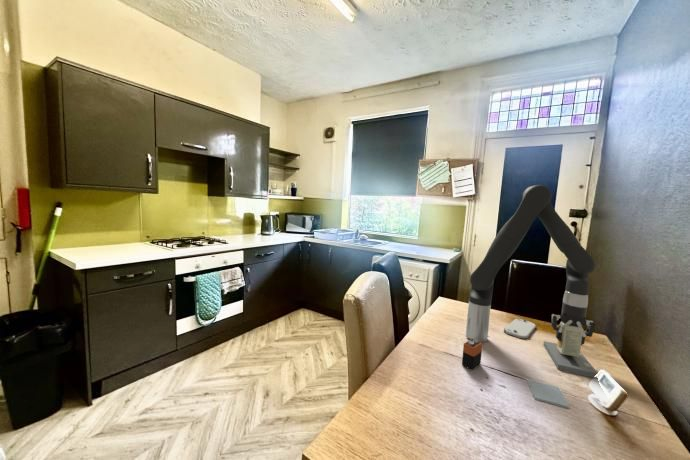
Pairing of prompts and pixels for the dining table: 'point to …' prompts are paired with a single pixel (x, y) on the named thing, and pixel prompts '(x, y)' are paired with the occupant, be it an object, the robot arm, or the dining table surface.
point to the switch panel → (569, 361)
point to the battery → (472, 354)
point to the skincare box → (570, 340)
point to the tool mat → (547, 393)
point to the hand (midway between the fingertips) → (569, 342)
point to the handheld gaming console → (520, 328)
